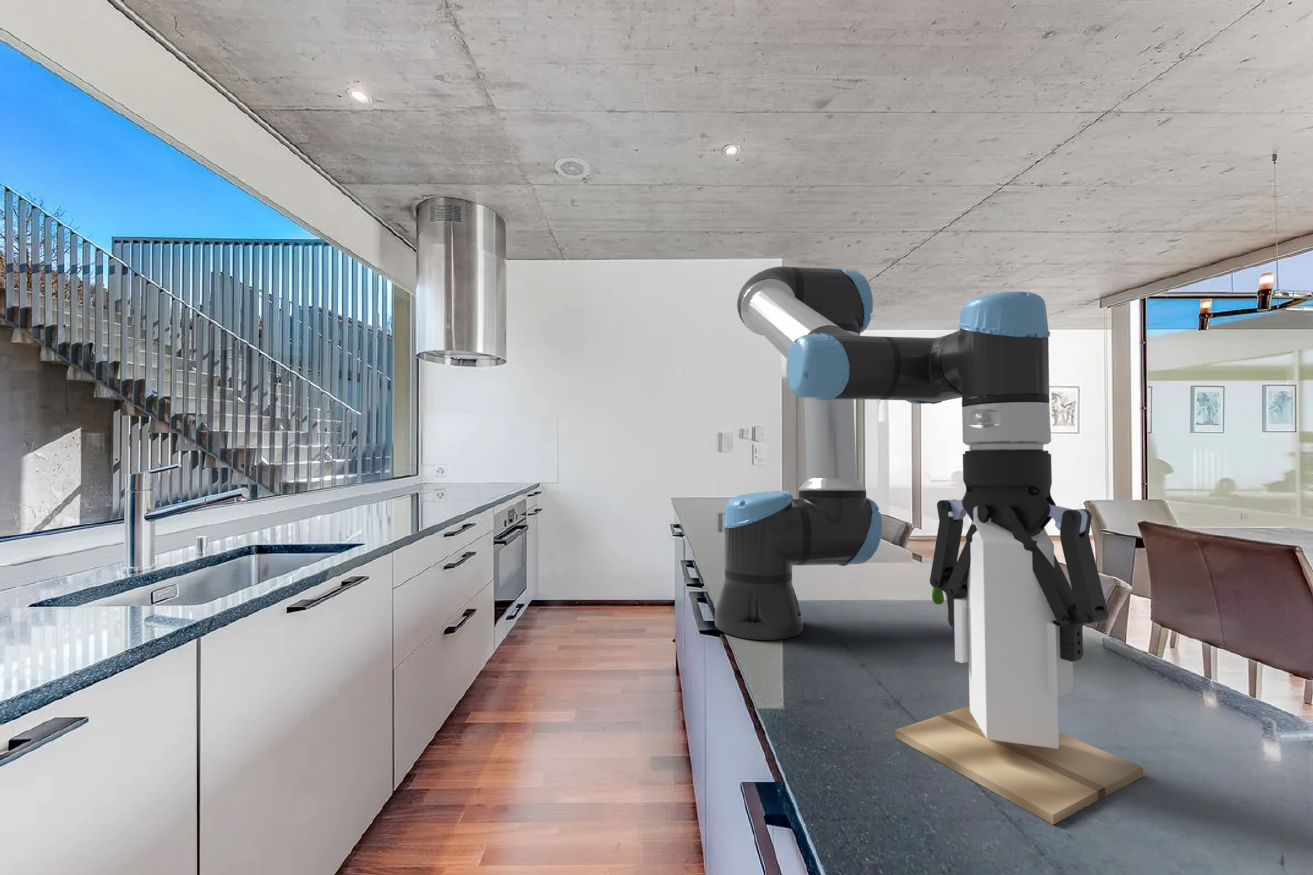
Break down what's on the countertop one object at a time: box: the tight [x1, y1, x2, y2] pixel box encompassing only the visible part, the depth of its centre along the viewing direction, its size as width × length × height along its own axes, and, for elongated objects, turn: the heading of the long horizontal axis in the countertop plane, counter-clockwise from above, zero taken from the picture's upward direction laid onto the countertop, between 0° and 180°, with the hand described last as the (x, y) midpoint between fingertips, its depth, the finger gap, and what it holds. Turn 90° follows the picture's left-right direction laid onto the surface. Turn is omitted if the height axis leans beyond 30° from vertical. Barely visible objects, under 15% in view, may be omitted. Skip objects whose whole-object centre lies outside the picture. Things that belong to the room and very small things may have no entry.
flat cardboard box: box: [894, 705, 1144, 826], centre depth 53 cm, size 15×15×1 cm
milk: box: [967, 506, 1059, 749], centre depth 54 cm, size 6×6×22 cm
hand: (1010, 674), depth 53 cm, fingers closed on milk, 8 cm apart
